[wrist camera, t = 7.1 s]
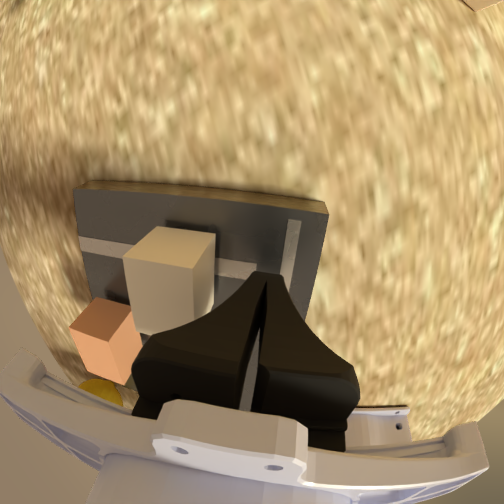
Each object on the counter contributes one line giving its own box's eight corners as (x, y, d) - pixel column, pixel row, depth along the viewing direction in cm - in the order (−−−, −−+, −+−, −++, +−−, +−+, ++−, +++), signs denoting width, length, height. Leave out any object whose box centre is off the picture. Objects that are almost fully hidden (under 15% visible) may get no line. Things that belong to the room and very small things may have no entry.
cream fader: (215, 233, 13) (192, 268, 10) (213, 303, 15) (195, 346, 12) (157, 225, 13) (122, 256, 10) (161, 293, 15) (136, 331, 12)
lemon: (82, 363, 25) (48, 414, 18) (113, 364, 23) (76, 424, 16) (110, 395, 27) (83, 445, 20) (143, 398, 25) (115, 456, 18)
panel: (324, 202, 14) (329, 214, 12) (276, 403, 22) (273, 422, 20) (92, 180, 15) (72, 188, 13) (130, 371, 23) (121, 386, 21)
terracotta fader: (134, 306, 16) (108, 342, 13) (143, 351, 18) (124, 385, 15) (96, 296, 16) (68, 327, 13) (109, 340, 18) (87, 371, 15)
